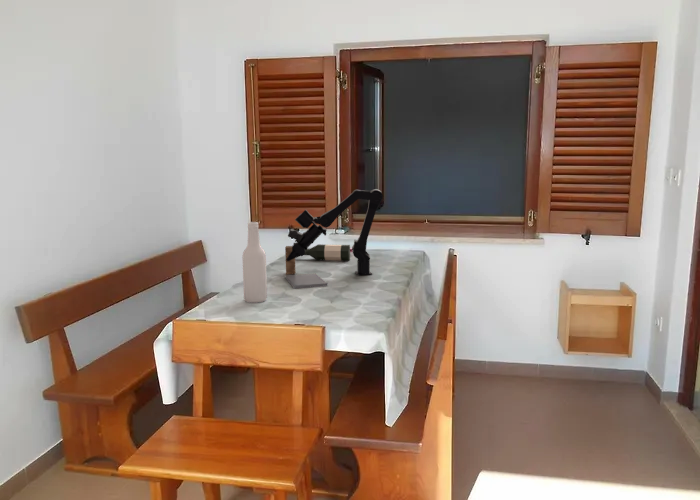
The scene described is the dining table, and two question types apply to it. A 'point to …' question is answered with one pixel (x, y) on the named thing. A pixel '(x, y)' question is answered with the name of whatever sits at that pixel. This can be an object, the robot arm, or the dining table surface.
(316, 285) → the slate board
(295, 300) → the dining table surface
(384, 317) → the dining table surface
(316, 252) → the wine bottle
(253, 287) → the alcohol
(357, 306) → the dining table surface
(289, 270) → the wooden pillar
